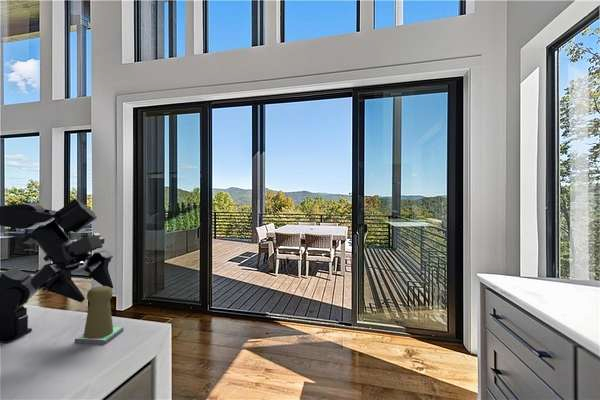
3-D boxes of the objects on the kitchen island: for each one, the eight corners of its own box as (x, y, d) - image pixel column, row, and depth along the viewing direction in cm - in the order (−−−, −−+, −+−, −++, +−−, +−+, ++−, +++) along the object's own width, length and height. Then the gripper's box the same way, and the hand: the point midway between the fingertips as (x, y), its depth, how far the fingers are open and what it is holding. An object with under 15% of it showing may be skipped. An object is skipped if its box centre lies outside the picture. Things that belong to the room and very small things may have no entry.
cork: (99, 340, 72) (101, 292, 72) (76, 337, 73) (78, 289, 73) (119, 329, 78) (120, 285, 78) (98, 326, 79) (99, 282, 79)
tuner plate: (74, 342, 72) (74, 338, 72) (95, 329, 79) (95, 325, 79) (105, 344, 72) (105, 340, 72) (123, 330, 79) (123, 327, 79)
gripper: (44, 227, 66) (91, 283, 65) (107, 220, 85) (144, 263, 84) (9, 262, 67) (55, 317, 66) (79, 247, 86) (116, 290, 85)
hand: (98, 294), depth 75 cm, fingers open, 9 cm apart
